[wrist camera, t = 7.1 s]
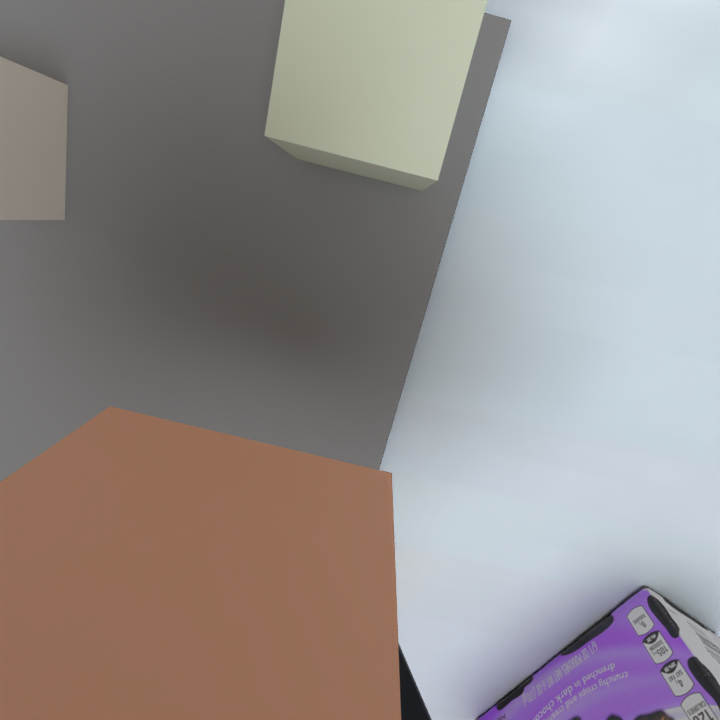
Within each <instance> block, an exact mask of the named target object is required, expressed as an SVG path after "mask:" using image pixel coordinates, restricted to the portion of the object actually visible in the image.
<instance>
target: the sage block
mask: <svg viewBox="0 0 720 720" xmlns="http://www.w3.org/2000/svg"><path fill="white" fill-rule="evenodd" d="M487 1H488V0H285V5H284V11H283V18H282V24H281V31H280V37H279V44H278V50H277V57H276V63H275V70H274V76H273V83H272V89H271V96H270V102H269V109H268V115H267V122H266V128H265V135H264V136H265V137H267V138H268V139H270V140H271V141H273V142H274V143H275V144H277V145H278V146H280V147H281V148H282V149H284V150H285V151H287V152H288V153H289V154H291V155H292V156H294V157H295V158H297V159H299V160H303V161H307V162H310V163H314V164H318V165H322V166H326V167H330V168H334V169H338V170H341V171H345V172H349V173H353V174H357V175H361V176H365V177H369V178H373V179H376V180H380V181H384V182H388V183H392V184H396V185H400V186H404V187H407V188H411V189H415V190H419V191H423V190H425V189H426V188H428V187H429V186H431V185H432V184H433V183H435V182H436V181H438V178H439V174H440V171H441V167H442V164H443V160H444V156H445V153H446V149H447V145H448V142H449V138H450V135H451V131H452V127H453V124H454V120H455V117H456V113H457V109H458V106H459V102H460V99H461V95H462V91H463V88H464V84H465V80H466V77H467V73H468V70H469V66H470V62H471V59H472V55H473V52H474V48H475V44H476V41H477V37H478V33H479V30H480V26H481V23H482V19H483V15H484V12H485V8H486V5H487Z"/></svg>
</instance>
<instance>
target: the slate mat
mask: <svg viewBox="0 0 720 720" xmlns="http://www.w3.org/2000/svg"><path fill="white" fill-rule="evenodd" d="M284 5H285V0H0V56H1V57H3V58H5V59H8V60H10V61H12V62H15V63H17V64H19V65H22V66H24V67H26V68H29V69H31V70H34V71H36V72H38V73H41V74H43V75H45V76H48V77H50V78H52V79H55V80H57V81H59V82H62V83H64V84H66V85H68V104H67V149H66V194H65V220H0V482H1V481H2V480H4V479H5V478H7V477H8V476H10V475H11V474H12V473H14V472H15V471H17V470H18V469H20V468H21V467H23V466H24V465H25V464H27V463H28V462H30V461H31V460H33V459H34V458H36V457H37V456H39V455H40V454H41V453H43V452H44V451H46V450H47V449H49V448H50V447H52V446H53V445H55V444H56V443H57V442H59V441H60V440H62V439H63V438H65V437H66V436H68V435H69V434H70V433H72V432H73V431H75V430H76V429H78V428H79V427H81V426H82V425H84V424H85V423H86V422H88V421H89V420H91V419H92V418H94V417H95V416H97V415H98V414H99V413H101V412H102V411H104V410H105V409H107V408H108V407H110V406H111V407H116V408H120V409H124V410H128V411H132V412H137V413H141V414H145V415H149V416H153V417H158V418H162V419H166V420H170V421H174V422H179V423H183V424H187V425H191V426H195V427H200V428H204V429H208V430H212V431H216V432H221V433H225V434H229V435H233V436H237V437H242V438H246V439H250V440H254V441H258V442H263V443H267V444H271V445H275V446H280V447H284V448H288V449H292V450H296V451H301V452H305V453H309V454H313V455H317V456H322V457H326V458H330V459H334V460H338V461H343V462H347V463H351V464H355V465H359V466H364V467H368V468H372V469H376V470H379V467H380V464H381V461H382V457H383V454H384V450H385V447H386V444H387V440H388V437H389V433H390V430H391V427H392V423H393V420H394V416H395V413H396V410H397V406H398V403H399V400H400V396H401V393H402V389H403V386H404V383H405V379H406V376H407V372H408V369H409V366H410V362H411V359H412V355H413V352H414V349H415V345H416V342H417V338H418V335H419V332H420V328H421V325H422V322H423V318H424V315H425V311H426V308H427V305H428V301H429V298H430V294H431V291H432V288H433V284H434V281H435V277H436V274H437V271H438V267H439V264H440V260H441V257H442V254H443V250H444V247H445V244H446V240H447V237H448V233H449V230H450V227H451V223H452V220H453V216H454V213H455V210H456V206H457V203H458V199H459V196H460V193H461V189H462V186H463V182H464V179H465V176H466V172H467V169H468V166H469V162H470V159H471V155H472V152H473V149H474V145H475V142H476V138H477V135H478V132H479V128H480V125H481V121H482V118H483V115H484V111H485V108H486V105H487V101H488V98H489V94H490V91H491V88H492V84H493V81H494V77H495V74H496V71H497V67H498V64H499V60H500V57H501V54H502V50H503V47H504V43H505V40H506V37H507V33H508V30H509V27H510V23H511V20H509V19H505V18H501V17H498V16H494V15H490V14H487V13H484V15H483V19H482V23H481V26H480V30H479V33H478V37H477V41H476V44H475V48H474V52H473V55H472V59H471V62H470V66H469V70H468V73H467V77H466V80H465V84H464V88H463V91H462V95H461V99H460V102H459V106H458V109H457V113H456V117H455V120H454V124H453V127H452V131H451V135H450V138H449V142H448V145H447V149H446V153H445V156H444V160H443V164H442V167H441V171H440V174H439V178H438V181H436V182H435V183H433V184H432V185H431V186H429V187H428V188H426V189H425V190H423V191H419V190H415V189H411V188H407V187H404V186H400V185H396V184H392V183H388V182H384V181H380V180H376V179H373V178H369V177H365V176H361V175H357V174H353V173H349V172H345V171H341V170H338V169H334V168H330V167H326V166H322V165H318V164H314V163H310V162H307V161H303V160H299V159H297V158H295V157H294V156H292V155H291V154H289V153H288V152H287V151H285V150H284V149H282V148H281V147H280V146H278V145H277V144H275V143H274V142H273V141H271V140H270V139H268V138H267V137H265V136H264V135H265V128H266V122H267V115H268V109H269V102H270V96H271V89H272V83H273V76H274V70H275V63H276V57H277V50H278V44H279V37H280V31H281V24H282V18H283V11H284Z"/></svg>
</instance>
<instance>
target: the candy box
mask: <svg viewBox="0 0 720 720" xmlns="http://www.w3.org/2000/svg"><path fill="white" fill-rule="evenodd" d="M478 720H720V637H718V636H717V635H715V634H714V633H712V632H711V631H709V630H708V629H707V628H705V627H704V626H702V625H701V624H700V623H698V622H697V621H695V620H693V619H692V618H690V617H689V616H688V615H686V614H685V613H684V612H682V611H681V610H680V609H678V608H677V607H676V606H674V605H673V604H672V603H671V602H669V601H668V600H666V599H665V598H663V597H662V596H660V595H658V594H657V593H655V592H654V591H652V590H651V589H649V588H644V589H642V590H641V591H639V592H638V593H637V594H635V595H634V596H633V597H631V598H630V599H629V600H627V601H626V602H625V603H623V604H622V605H621V606H620V607H618V608H617V609H616V610H615V611H614V612H613V613H612V614H611V615H610V616H608V617H607V618H606V619H604V620H603V621H602V622H601V623H599V624H598V625H596V626H595V627H593V628H592V629H591V630H590V631H588V632H587V633H586V634H585V635H583V636H582V637H581V638H580V639H579V640H578V641H577V642H575V643H574V644H573V645H571V646H570V647H569V648H567V649H566V650H565V651H563V652H562V653H561V654H559V655H558V656H557V657H556V658H554V659H553V660H552V661H551V662H549V663H548V664H547V665H546V666H544V667H543V668H542V669H541V670H540V671H538V672H537V673H536V674H535V675H533V676H532V677H531V678H529V679H528V680H527V681H525V682H524V683H523V684H522V685H521V686H519V687H518V688H517V689H516V690H515V691H513V692H512V693H511V694H510V695H508V696H507V697H506V698H504V699H503V700H502V701H500V702H499V703H498V704H497V705H496V706H494V707H493V708H491V709H490V710H489V711H488V712H487V713H485V714H484V715H483V716H482V717H480V718H479V719H478Z"/></svg>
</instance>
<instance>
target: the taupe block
mask: <svg viewBox="0 0 720 720" xmlns="http://www.w3.org/2000/svg"><path fill="white" fill-rule="evenodd" d="M67 104H68V85H66V84H64V83H62V82H59V81H57V80H55V79H52V78H50V77H48V76H45V75H43V74H41V73H38V72H36V71H34V70H31V69H29V68H26V67H24V66H22V65H19V64H17V63H15V62H12V61H10V60H8V59H5V58H3V57H1V56H0V220H65V194H66V149H67Z"/></svg>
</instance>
